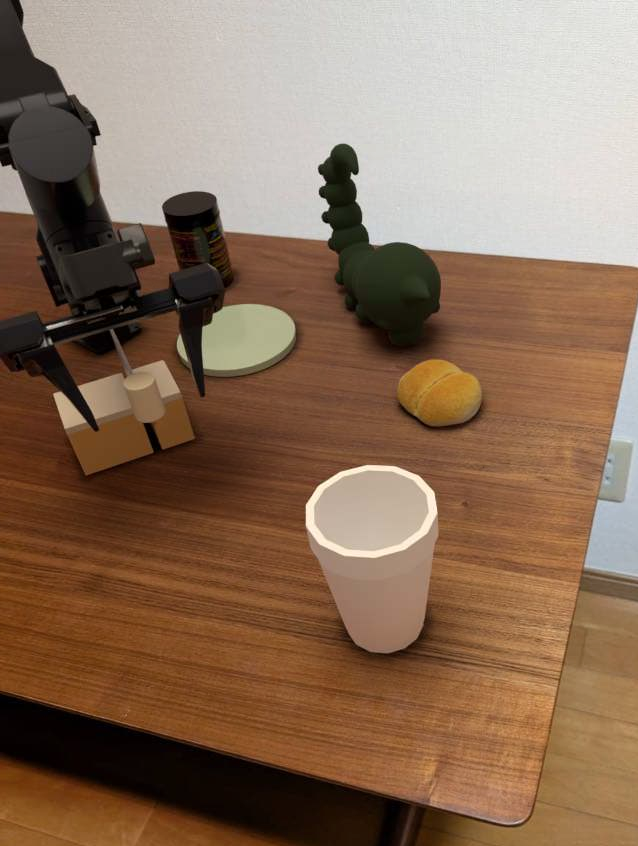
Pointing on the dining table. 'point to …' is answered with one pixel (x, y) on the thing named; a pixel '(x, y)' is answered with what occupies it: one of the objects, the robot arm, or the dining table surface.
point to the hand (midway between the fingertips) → (150, 413)
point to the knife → (141, 391)
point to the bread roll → (439, 393)
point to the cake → (104, 426)
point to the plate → (244, 340)
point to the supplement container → (198, 232)
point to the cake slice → (169, 408)
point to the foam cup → (376, 551)
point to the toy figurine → (376, 260)
